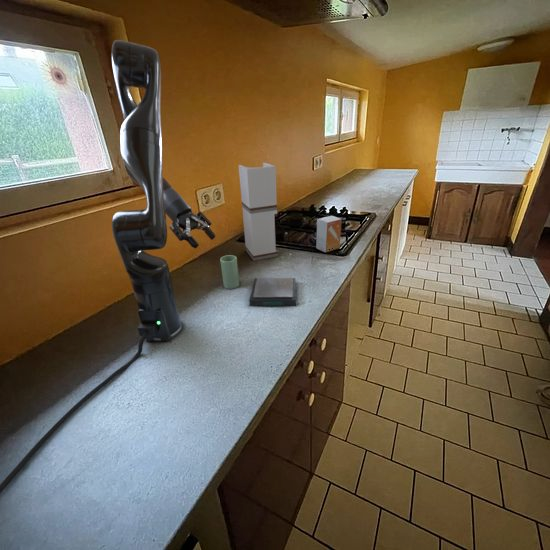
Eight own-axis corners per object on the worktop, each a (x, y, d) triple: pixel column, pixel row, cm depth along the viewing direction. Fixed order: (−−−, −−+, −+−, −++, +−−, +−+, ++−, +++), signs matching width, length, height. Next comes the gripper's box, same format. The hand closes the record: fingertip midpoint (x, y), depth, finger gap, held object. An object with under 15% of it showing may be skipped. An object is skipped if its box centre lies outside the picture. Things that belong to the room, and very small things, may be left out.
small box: (325, 253, 124) (327, 222, 118) (315, 248, 129) (316, 218, 123) (340, 248, 128) (342, 218, 122) (329, 244, 133) (331, 215, 127)
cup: (238, 288, 101) (235, 261, 96) (222, 288, 101) (218, 262, 97) (240, 281, 106) (237, 255, 101) (225, 281, 106) (221, 255, 101)
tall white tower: (278, 256, 124) (275, 166, 107) (253, 260, 120) (246, 168, 104) (269, 246, 133) (265, 162, 117) (246, 250, 130) (238, 165, 114)
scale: (296, 306, 90) (296, 299, 89) (249, 306, 91) (249, 299, 90) (295, 283, 103) (295, 276, 102) (254, 283, 104) (254, 276, 103)
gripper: (161, 203, 92) (196, 243, 93) (193, 193, 103) (224, 229, 104) (153, 218, 97) (186, 256, 97) (184, 207, 108) (213, 241, 108)
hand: (205, 242), depth 101 cm, fingers open, 8 cm apart
